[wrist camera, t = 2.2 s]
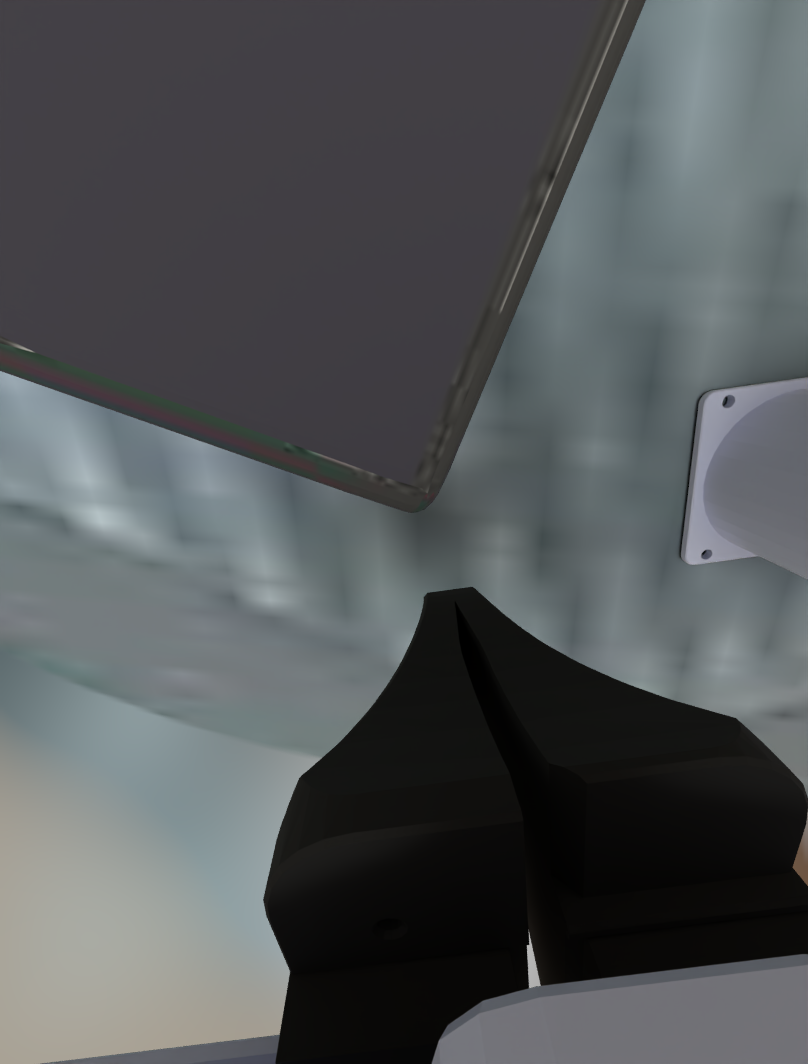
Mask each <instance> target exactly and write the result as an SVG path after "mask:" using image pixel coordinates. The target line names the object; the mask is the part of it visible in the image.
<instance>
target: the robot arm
mask: <svg viewBox="0 0 808 1064" xmlns="http://www.w3.org/2000/svg"><path fill="white" fill-rule="evenodd" d="M726 396H727V398H728V401H727V403H726V405H725V406H723V405H722V402H723V399H724V398H725V397H726ZM704 550H706V553H705V554H704V555H702V556H701V554H702V552H703V551H704ZM756 556H760V557H762V558H764V559H766V560H768V561H770V562H772V563H774V564H776V565H778V566H781V567H783V568H785V569H787V570H789V571H791V572H793V573H795V574H797V575H799V576H801V577H803V578H805V579H807V580H808V377H803V378H796V379H789V380H782V381H775V382H768V383H761V384H754V385H746V386H739V387H732V388H725V389H718V390H712V391H709V392H707V393H705V394H704V395H703V396H702V398H701V399H700V402H699V405H698V414H697V422H696V431H695V439H694V448H693V456H692V465H691V473H690V482H689V490H688V498H687V507H686V515H685V524H684V532H683V541H682V549H681V558H682V560H683V561H685V562H686V563H688V564H690V565H697V564H704V563H712V562H719V561H727V560H734V559H742V558H749V557H756ZM807 812H808V798H807V794H806V791H805V788H804V785H803V783H802V782H801V781H800V780H799V779H798V778H797V777H796V776H795V775H794V774H793V773H792V772H791V770H790V769H789V768H788V767H787V766H786V765H785V764H784V763H783V762H782V761H781V760H780V759H779V758H778V757H777V756H776V755H775V754H774V753H773V752H772V751H771V750H770V749H769V748H768V747H767V746H766V745H765V744H764V743H763V742H762V741H761V740H759V739H758V738H757V737H756V736H755V735H754V734H753V733H752V732H751V731H750V730H749V729H748V728H746V727H745V726H744V725H743V724H742V723H741V722H739V721H738V720H737V719H736V718H733V717H730V716H726V715H723V714H719V713H716V712H712V711H709V710H705V709H702V708H698V707H695V706H691V705H688V704H684V703H681V702H677V701H674V700H671V699H667V698H665V697H662V696H659V695H656V694H653V693H650V692H648V691H645V690H642V689H639V688H636V687H634V686H631V685H629V684H626V683H624V682H621V681H618V680H616V679H614V678H611V677H609V676H607V675H605V674H602V673H600V672H598V671H596V670H593V669H591V668H589V667H587V666H585V665H583V664H581V663H579V662H577V661H575V660H573V659H571V658H569V657H567V656H566V655H564V654H562V653H560V652H558V651H557V650H555V649H553V648H551V647H549V646H548V645H546V644H545V643H543V642H541V641H540V640H538V639H537V638H535V637H534V636H532V635H531V634H529V633H528V632H526V631H525V630H524V629H522V628H521V627H519V626H518V625H517V624H516V623H514V622H513V621H512V620H511V619H509V618H508V617H507V616H505V615H504V614H503V613H502V612H501V611H499V610H498V609H497V608H496V607H495V606H494V605H492V604H491V603H490V602H489V601H488V600H487V599H486V598H485V597H484V596H482V595H481V594H480V593H479V592H478V591H477V590H476V589H475V588H473V587H467V588H460V589H453V590H445V591H438V592H431V593H427V594H426V595H425V596H424V604H423V609H422V613H421V617H420V620H419V623H418V625H417V628H416V631H415V634H414V636H413V639H412V641H411V643H410V645H409V647H408V649H407V652H406V654H405V656H404V658H403V660H402V662H401V663H400V665H399V667H398V669H397V670H396V672H395V674H394V675H393V677H392V679H391V680H390V682H389V683H388V685H387V686H386V688H385V689H384V690H383V692H382V693H381V695H380V696H379V697H378V699H377V700H376V702H375V703H374V704H373V705H372V707H371V708H370V709H369V711H368V712H367V713H366V714H365V715H364V716H363V718H362V719H361V720H360V721H359V722H358V723H357V724H356V725H355V726H354V727H353V729H352V730H351V731H350V732H349V733H348V734H347V735H346V736H345V737H344V738H343V739H342V740H341V741H340V742H339V743H338V744H337V745H336V746H335V747H334V748H333V749H332V750H331V751H329V752H328V753H327V754H326V755H325V756H324V757H323V758H322V759H320V760H319V761H318V762H317V763H316V764H315V765H314V766H313V767H311V768H310V769H309V770H308V771H307V772H305V773H304V774H303V775H302V776H301V777H300V778H299V780H298V783H297V785H296V788H295V790H294V792H293V795H292V797H291V800H290V802H289V805H288V808H287V811H286V814H285V816H284V819H283V821H282V825H281V827H280V831H279V834H278V838H277V841H276V845H275V850H274V855H273V859H272V863H271V868H270V872H269V876H268V881H267V885H266V890H265V894H264V899H263V901H264V906H265V911H266V915H267V918H268V921H269V923H270V925H271V928H272V930H273V932H274V935H275V937H276V939H277V942H278V944H279V946H280V949H281V951H282V953H283V956H284V958H285V960H286V963H287V965H288V967H289V970H290V976H289V982H288V988H287V995H286V1000H285V1006H284V1012H283V1018H282V1024H281V1031H280V1035H274V1036H267V1037H258V1038H250V1039H241V1040H233V1041H224V1042H216V1043H208V1044H200V1045H191V1046H183V1047H176V1048H167V1049H158V1050H150V1051H142V1052H133V1053H125V1054H117V1055H109V1056H101V1057H92V1058H84V1059H76V1060H68V1061H59V1062H51V1063H42V1064H808V886H807V885H806V884H805V883H804V881H803V880H802V879H801V877H800V876H799V875H798V874H797V873H796V871H795V870H794V869H793V868H792V867H793V864H794V860H795V857H796V854H797V851H798V848H799V845H800V842H801V839H802V835H803V832H804V829H805V826H806V820H807ZM528 929H529V931H528ZM528 932H529V933H530V938H531V943H532V947H533V952H534V956H535V961H536V965H537V970H538V975H539V979H540V984H541V986H536V987H533V988H529V982H528V981H529V980H528V960H527V945H529V933H528Z"/></svg>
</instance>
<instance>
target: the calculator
mask: <svg viewBox="0 0 808 1064" xmlns="http://www.w3.org/2000/svg"><path fill="white" fill-rule="evenodd" d="M645 1H646V0H0V371H2V372H5V373H8V374H11V375H14V376H16V377H19V378H22V379H25V380H28V381H31V382H34V383H36V384H39V385H42V386H45V387H48V388H51V389H54V390H56V391H59V392H62V393H65V394H68V395H71V396H74V397H76V398H79V399H82V400H85V401H88V402H91V403H94V404H96V405H99V406H102V407H105V408H108V409H111V410H114V411H116V412H119V413H122V414H125V415H128V416H131V417H134V418H136V419H139V420H142V421H145V422H148V423H151V424H154V425H156V426H159V427H162V428H165V429H168V430H171V431H174V432H176V433H179V434H182V435H185V436H188V437H191V438H194V439H196V440H199V441H202V442H205V443H208V444H211V445H214V446H216V447H219V448H222V449H225V450H228V451H231V452H234V453H236V454H239V455H242V456H245V457H248V458H251V459H253V460H256V461H259V462H262V463H265V464H268V465H271V466H273V467H276V468H279V469H282V470H285V471H288V472H291V473H293V474H296V475H299V476H302V477H305V478H308V479H311V480H314V481H316V482H319V483H322V484H325V485H328V486H331V487H334V488H336V489H339V490H342V491H345V492H348V493H351V494H354V495H357V496H360V497H363V498H366V499H369V500H372V501H375V502H378V503H381V504H384V505H387V506H390V507H393V508H396V509H399V510H402V511H406V512H410V513H414V512H418V511H421V510H424V509H425V508H426V507H427V506H429V505H430V504H431V503H432V501H433V500H434V499H435V497H436V496H437V494H438V493H439V491H440V489H441V487H442V485H443V483H444V480H445V478H446V476H447V474H448V472H449V470H450V467H451V465H452V463H453V460H454V458H455V455H456V453H457V451H458V448H459V446H460V444H461V441H462V439H463V436H464V434H465V432H466V429H467V427H468V424H469V422H470V420H471V417H472V415H473V412H474V410H475V408H476V405H477V403H478V400H479V398H480V396H481V393H482V391H483V389H484V386H485V384H486V381H487V379H488V377H489V374H490V372H491V369H492V367H493V365H494V362H495V360H496V357H497V355H498V353H499V350H500V348H501V345H502V343H503V341H504V338H505V336H506V333H507V331H508V329H509V326H510V324H511V322H512V319H513V317H514V314H515V312H516V310H517V307H518V305H519V302H520V300H521V298H522V295H523V293H524V290H525V288H526V286H527V283H528V281H529V278H530V276H531V274H532V271H533V269H534V267H535V264H536V262H537V259H538V257H539V255H540V252H541V250H542V247H543V245H544V243H545V240H546V238H547V235H548V233H549V231H550V228H551V226H552V223H553V221H554V219H555V216H556V214H557V212H558V209H559V207H560V204H561V202H562V200H563V197H564V195H565V192H566V190H567V188H568V185H569V183H570V180H571V178H572V176H573V173H574V171H575V168H576V166H577V164H578V161H579V159H580V157H581V154H582V152H583V149H584V147H585V145H586V142H587V140H588V137H589V135H590V133H591V130H592V128H593V125H594V123H595V121H596V118H597V116H598V113H599V111H600V109H601V106H602V104H603V102H604V99H605V97H606V94H607V92H608V90H609V87H610V85H611V82H612V80H613V78H614V75H615V73H616V70H617V68H618V66H619V63H620V61H621V58H622V56H623V54H624V51H625V49H626V47H627V44H628V42H629V39H630V37H631V35H632V32H633V30H634V27H635V25H636V23H637V20H638V18H639V15H640V13H641V11H642V8H643V6H644V3H645Z"/></svg>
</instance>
